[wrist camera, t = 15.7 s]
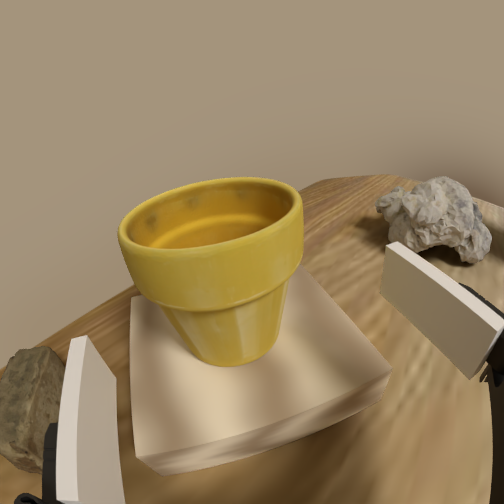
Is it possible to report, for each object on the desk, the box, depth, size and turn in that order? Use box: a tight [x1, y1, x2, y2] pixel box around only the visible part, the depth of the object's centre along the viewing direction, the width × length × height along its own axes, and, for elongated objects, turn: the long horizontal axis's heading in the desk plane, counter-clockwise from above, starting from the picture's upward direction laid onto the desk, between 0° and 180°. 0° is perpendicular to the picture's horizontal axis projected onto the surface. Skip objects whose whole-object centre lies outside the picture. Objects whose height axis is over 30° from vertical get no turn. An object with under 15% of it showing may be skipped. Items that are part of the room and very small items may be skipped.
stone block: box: [0, 346, 66, 474], centre depth 16 cm, size 6×12×5 cm, turn 12°
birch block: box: [130, 264, 393, 476], centre depth 22 cm, size 16×16×4 cm
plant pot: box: [118, 177, 304, 367], centre depth 18 cm, size 10×10×10 cm
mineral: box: [375, 176, 492, 263], centre depth 31 cm, size 12×17×10 cm
